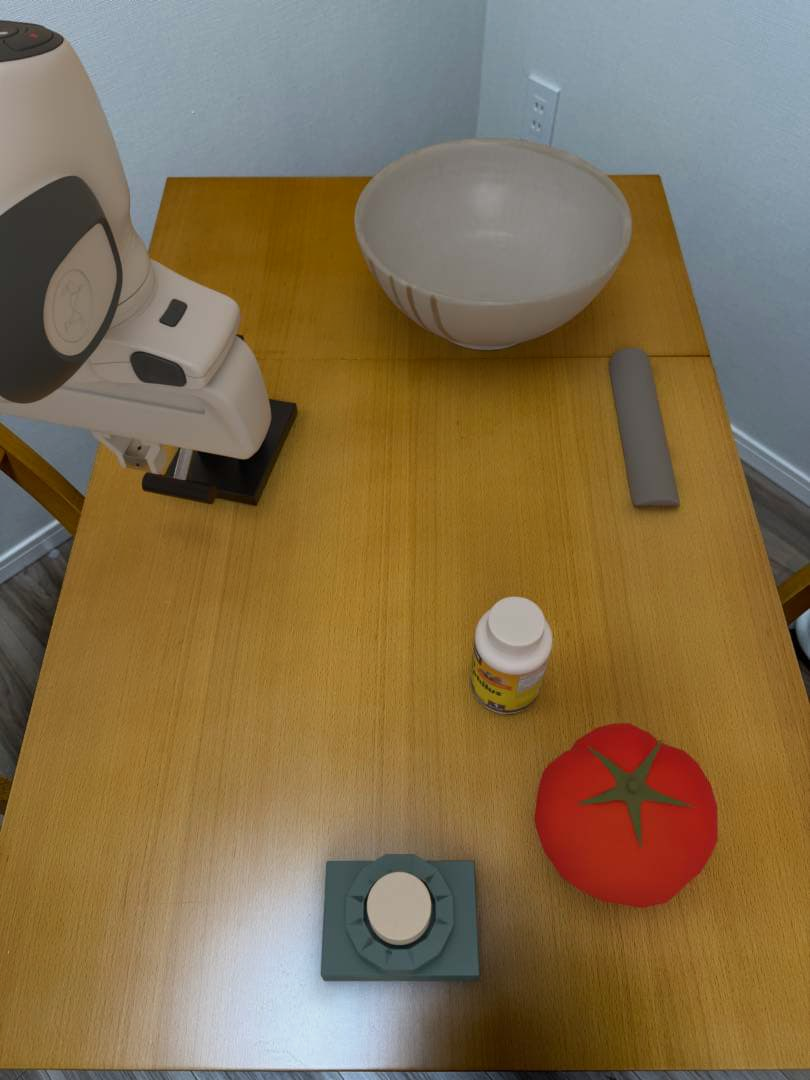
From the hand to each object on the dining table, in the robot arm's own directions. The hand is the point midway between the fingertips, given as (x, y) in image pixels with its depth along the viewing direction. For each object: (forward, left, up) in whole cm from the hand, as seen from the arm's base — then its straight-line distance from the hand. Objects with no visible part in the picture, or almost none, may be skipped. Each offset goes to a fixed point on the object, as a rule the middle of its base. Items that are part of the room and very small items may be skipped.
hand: (145, 464), depth 63 cm
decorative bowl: (+43, -4, -14) cm, 45 cm away
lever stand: (+13, +6, -14) cm, 20 cm away
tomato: (0, -40, -14) cm, 43 cm away
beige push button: (-13, -31, -10) cm, 36 cm away
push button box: (-13, -31, -14) cm, 37 cm away
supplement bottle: (+6, -28, -14) cm, 32 cm away
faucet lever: (+9, +4, -6) cm, 12 cm away
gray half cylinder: (+36, -26, -14) cm, 47 cm away
